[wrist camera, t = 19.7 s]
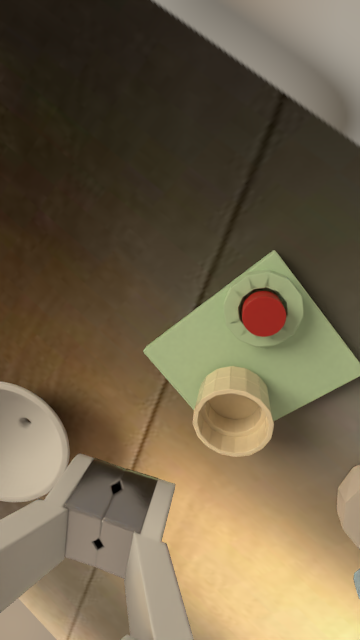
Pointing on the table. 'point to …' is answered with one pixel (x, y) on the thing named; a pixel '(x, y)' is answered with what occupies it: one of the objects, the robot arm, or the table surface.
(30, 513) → the robot arm
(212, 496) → the table surface
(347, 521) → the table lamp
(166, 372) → the green base plate
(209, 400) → the beige cup
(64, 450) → the dish
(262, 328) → the button
